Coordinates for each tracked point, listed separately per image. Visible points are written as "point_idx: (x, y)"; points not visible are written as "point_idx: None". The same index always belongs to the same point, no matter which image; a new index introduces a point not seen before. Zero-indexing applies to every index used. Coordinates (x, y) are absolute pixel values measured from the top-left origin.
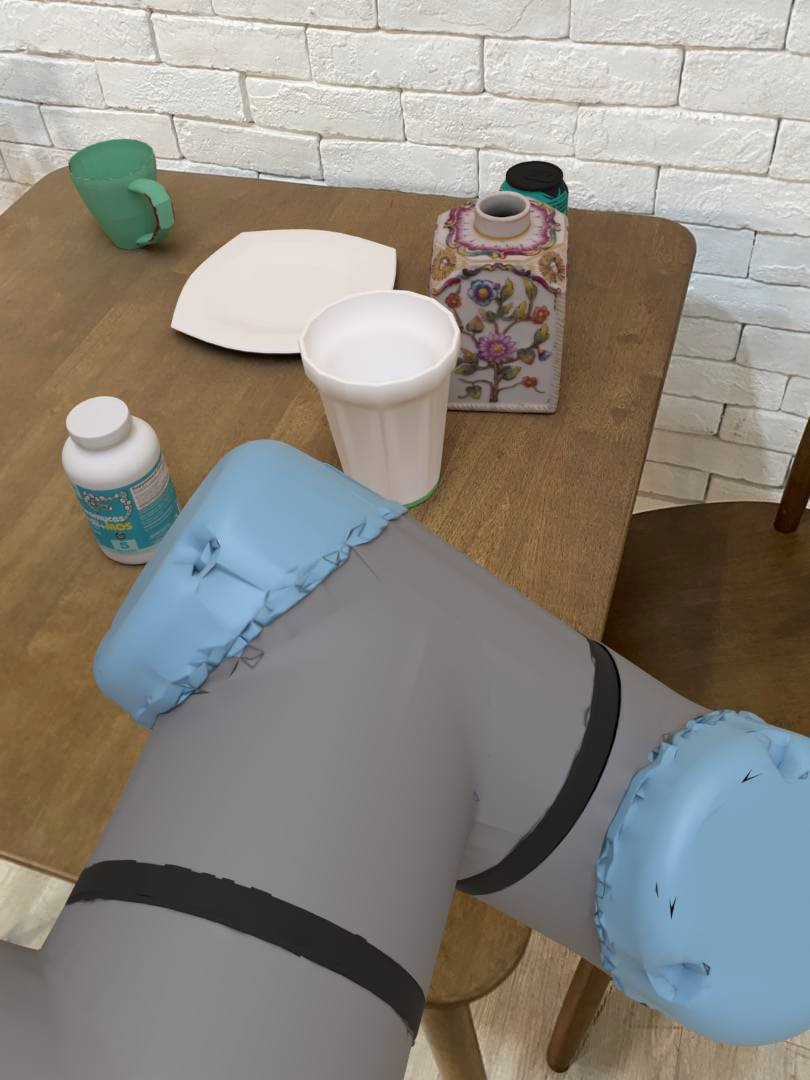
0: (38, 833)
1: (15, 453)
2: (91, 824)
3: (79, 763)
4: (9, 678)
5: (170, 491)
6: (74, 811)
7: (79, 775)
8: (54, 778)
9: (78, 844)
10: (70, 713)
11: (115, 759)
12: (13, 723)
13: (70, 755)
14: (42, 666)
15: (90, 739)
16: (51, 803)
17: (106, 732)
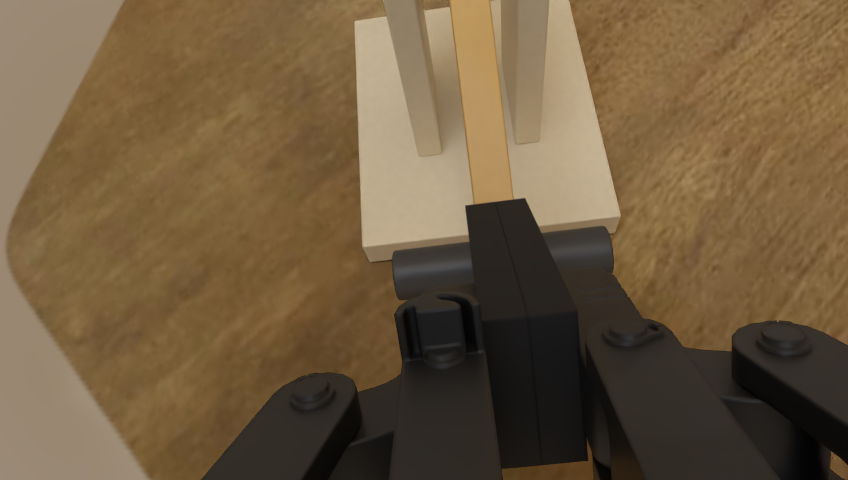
0: (36, 243)
1: None
2: (100, 262)
3: (132, 165)
4: (117, 15)
5: None
6: (91, 232)
7: (123, 183)
8: (94, 173)
9: (70, 284)
10: (158, 90)
11: (176, 180)
12: (90, 76)
13: (128, 149)
14: (160, 13)
15: (162, 137)
16: (72, 207)
17: (185, 136)
